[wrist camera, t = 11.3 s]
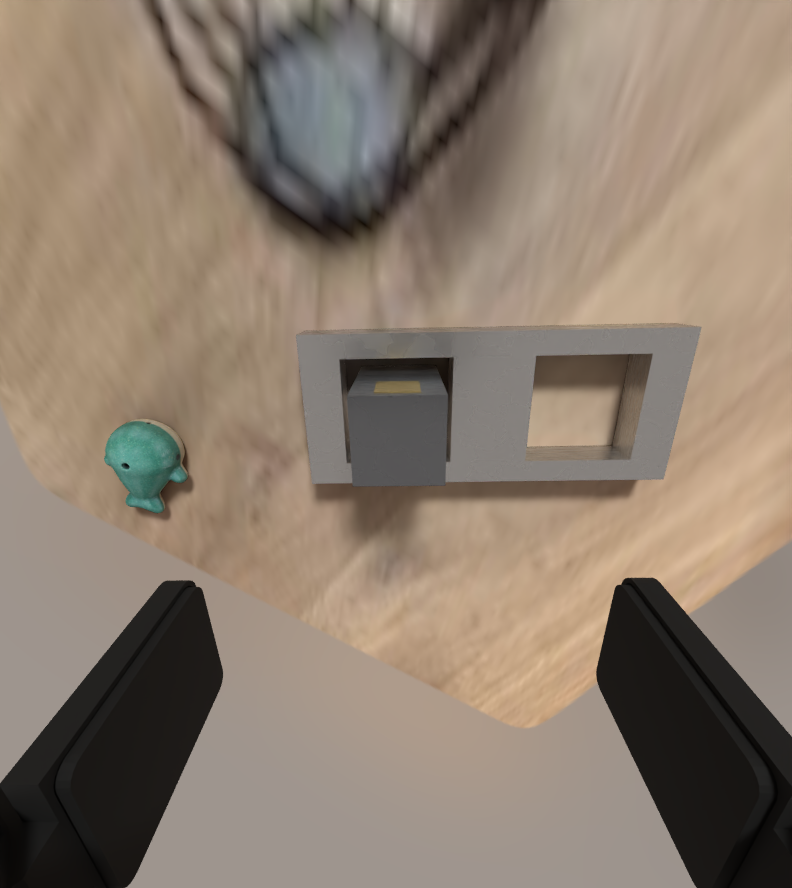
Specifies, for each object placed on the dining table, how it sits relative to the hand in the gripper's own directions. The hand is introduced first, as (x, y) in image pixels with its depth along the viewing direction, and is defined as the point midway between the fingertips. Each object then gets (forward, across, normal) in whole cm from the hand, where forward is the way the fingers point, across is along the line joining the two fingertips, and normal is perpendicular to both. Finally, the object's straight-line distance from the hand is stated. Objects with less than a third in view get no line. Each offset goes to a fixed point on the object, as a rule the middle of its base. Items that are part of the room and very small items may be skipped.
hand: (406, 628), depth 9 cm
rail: (+20, -6, 0) cm, 21 cm away
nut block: (+20, 0, 0) cm, 20 cm away
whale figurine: (+21, +19, +5) cm, 28 cm away
